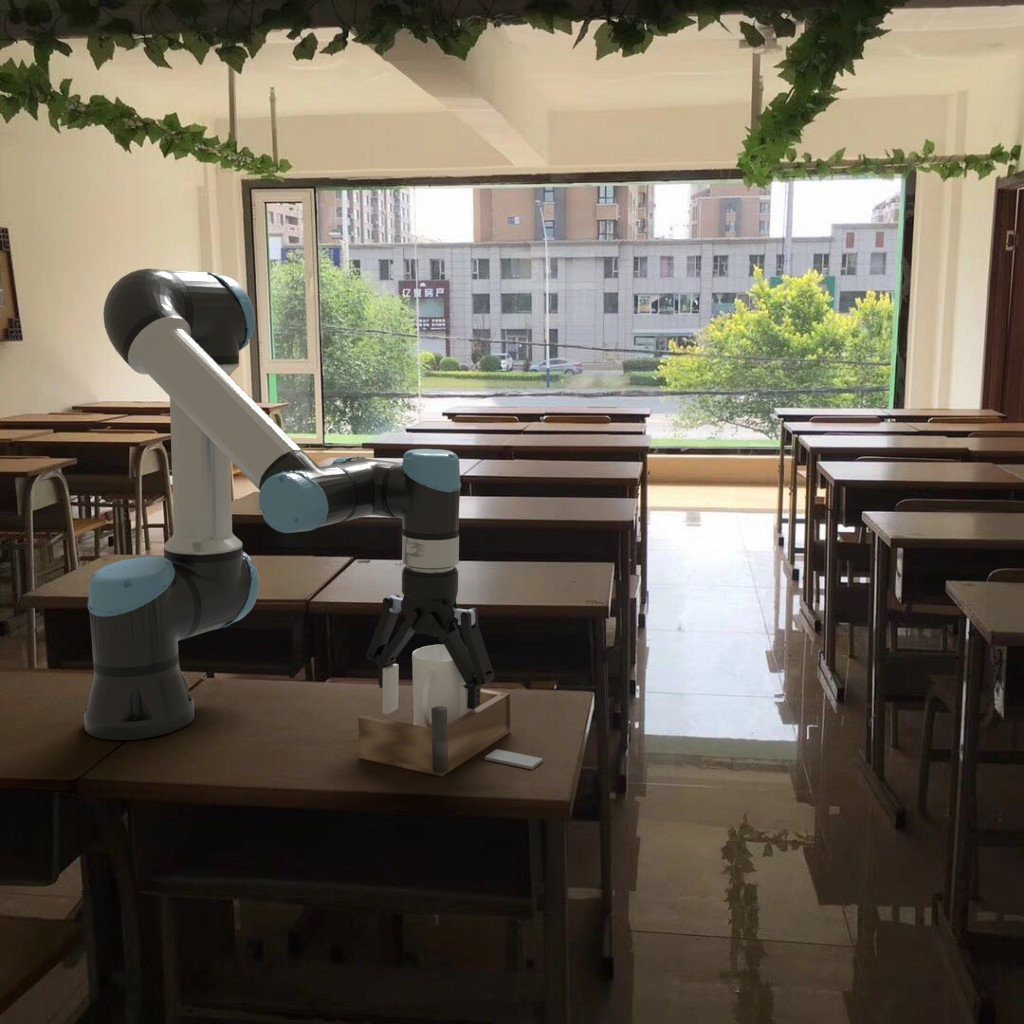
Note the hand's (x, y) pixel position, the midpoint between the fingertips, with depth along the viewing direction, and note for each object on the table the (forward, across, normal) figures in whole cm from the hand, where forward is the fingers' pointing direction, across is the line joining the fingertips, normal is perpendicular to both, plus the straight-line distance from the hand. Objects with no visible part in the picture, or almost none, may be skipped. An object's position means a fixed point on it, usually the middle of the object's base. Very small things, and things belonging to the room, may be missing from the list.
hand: (427, 720), depth 147 cm
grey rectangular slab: (+3, +14, 0) cm, 14 cm away
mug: (+3, +2, 0) cm, 3 cm away
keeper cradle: (+3, +2, 0) cm, 3 cm away
